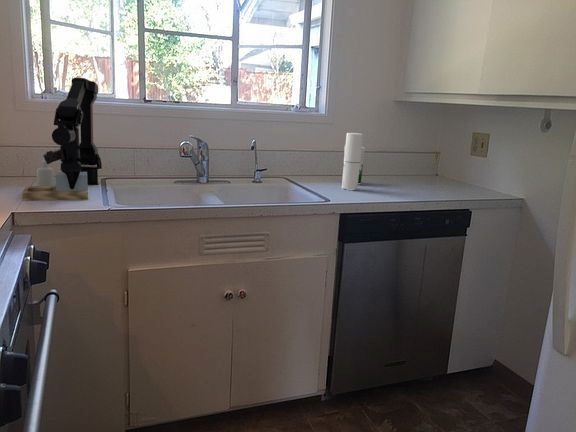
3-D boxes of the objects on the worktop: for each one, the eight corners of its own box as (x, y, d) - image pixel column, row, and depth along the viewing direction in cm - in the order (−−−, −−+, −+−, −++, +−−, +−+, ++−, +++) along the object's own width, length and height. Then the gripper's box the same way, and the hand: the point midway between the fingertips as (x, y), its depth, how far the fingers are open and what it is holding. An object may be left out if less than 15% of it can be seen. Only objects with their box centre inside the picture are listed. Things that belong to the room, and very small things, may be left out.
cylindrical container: (350, 191, 218) (355, 134, 212) (338, 188, 223) (343, 132, 217) (360, 190, 222) (366, 134, 216) (348, 187, 227) (354, 132, 221)
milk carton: (339, 181, 241) (343, 140, 237) (356, 182, 244) (360, 141, 239) (345, 184, 233) (349, 142, 228) (363, 185, 235) (367, 143, 231)
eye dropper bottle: (38, 188, 181) (36, 156, 178) (55, 188, 183) (53, 156, 180) (36, 191, 177) (34, 157, 174) (53, 191, 179) (52, 158, 176)
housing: (87, 187, 177) (86, 171, 176) (87, 190, 171) (87, 175, 170) (56, 187, 173) (56, 171, 172) (56, 191, 167) (55, 175, 166)
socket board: (87, 192, 180) (87, 185, 179) (88, 199, 169) (87, 192, 169) (26, 193, 172) (25, 186, 172) (22, 200, 162) (22, 193, 161)
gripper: (45, 138, 174) (48, 182, 177) (42, 144, 157) (44, 192, 161) (79, 139, 178) (81, 182, 182) (80, 145, 161) (81, 192, 165)
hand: (72, 187), depth 172 cm, fingers closed on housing, 7 cm apart
